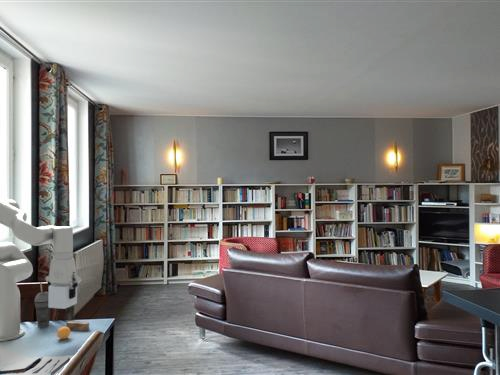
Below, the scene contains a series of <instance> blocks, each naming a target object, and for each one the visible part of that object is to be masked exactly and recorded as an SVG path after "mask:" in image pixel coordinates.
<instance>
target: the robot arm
mask: <svg viewBox="0 0 500 375" xmlns="http://www.w3.org/2000/svg"><path fill="white" fill-rule="evenodd" d="M27 216H28V215H27V213H26V212H25V211H24V210H21V209H20V205H19V203H18V202H17V201H15V200H14V199H10V198H4V199H0V224H1V225H3V226H5V227H7V228H9V229H11V232H12V234H13V235H14V236H15V237H16V238H17V239H18V240H20V241H21V242H23V243H26V244H28V245H30V246H34V247H36V246H42V245H47V244H52V250H53V251H52V252H51V256H52V259H51V260H50V265H49V272H48V273H49V274H48V275H47V276H46V277H45V278H44V280H45V281H46V283H47V285H48V287H49V286H51V285H54V284H68V285H69V287H70V289H69V299H72V298H74V297H75V295H76V288H77V289H78V286H79V285H80V283H81V281H82V278H81V277H80V276H79V275H78V274H77V267H76V261H75V258H74V251H73V250H74V238H73V237H74V231H73V227H71V226H67V225H65V226H64V225H63V226H62V225H61V226H56V225H45V226H38V227H36V226H34V225H32V224H29V223H28V222H26V221H27V218H28V217H27ZM33 269H34V268H33V264H32V262H31V261H30V260H29V259H28V257H27V256H26V255H25V254H24V253H23V252H22V250H21V249H20V248H19V247H18V246H17V245H16V244H14V243H13V242H10V241H1V242H0V342H6V341H11V340H15V339H17V338H20V337H22V336H23V335H24V334H25V329H23V328H21V293H20V292H21V291H20V289H19V287H18V284H17V283H18V282H21V281H24V280H26V279H29V277H31V276H32V274H33V273H34V270H33ZM72 284H73V285H72Z"/></svg>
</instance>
